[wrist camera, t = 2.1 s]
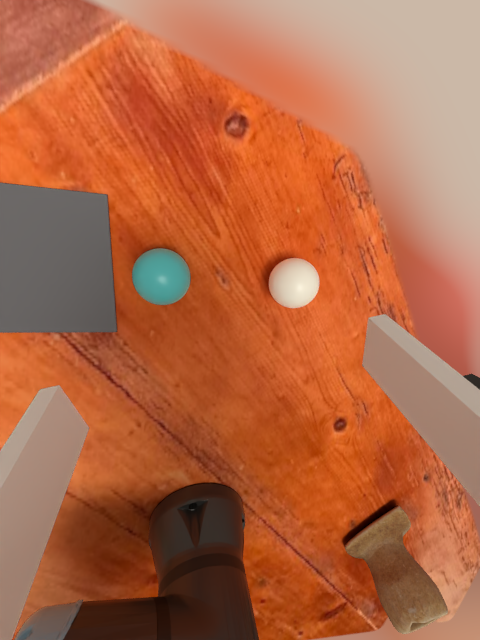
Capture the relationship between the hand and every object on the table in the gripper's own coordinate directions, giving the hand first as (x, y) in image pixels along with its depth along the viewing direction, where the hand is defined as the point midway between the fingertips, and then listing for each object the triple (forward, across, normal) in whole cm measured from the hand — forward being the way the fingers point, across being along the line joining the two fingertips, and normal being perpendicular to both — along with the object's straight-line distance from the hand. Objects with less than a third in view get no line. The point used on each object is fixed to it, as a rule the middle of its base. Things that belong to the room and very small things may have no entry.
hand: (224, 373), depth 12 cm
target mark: (+19, +16, -2) cm, 25 cm away
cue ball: (+18, -9, +5) cm, 20 cm away
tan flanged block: (+14, -23, +66) cm, 71 cm away
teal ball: (+17, +5, +1) cm, 18 cm away
